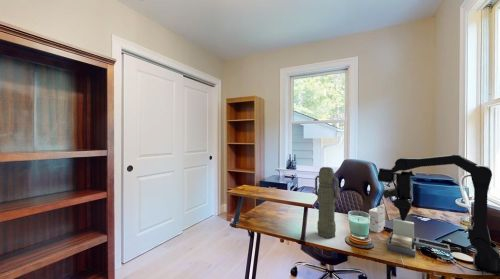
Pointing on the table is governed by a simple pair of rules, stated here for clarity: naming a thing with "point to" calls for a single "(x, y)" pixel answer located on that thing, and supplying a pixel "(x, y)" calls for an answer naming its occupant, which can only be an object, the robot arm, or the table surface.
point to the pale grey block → (403, 228)
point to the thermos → (326, 202)
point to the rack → (417, 246)
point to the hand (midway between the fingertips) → (403, 217)
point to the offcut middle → (401, 244)
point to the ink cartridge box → (377, 218)
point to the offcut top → (402, 239)
